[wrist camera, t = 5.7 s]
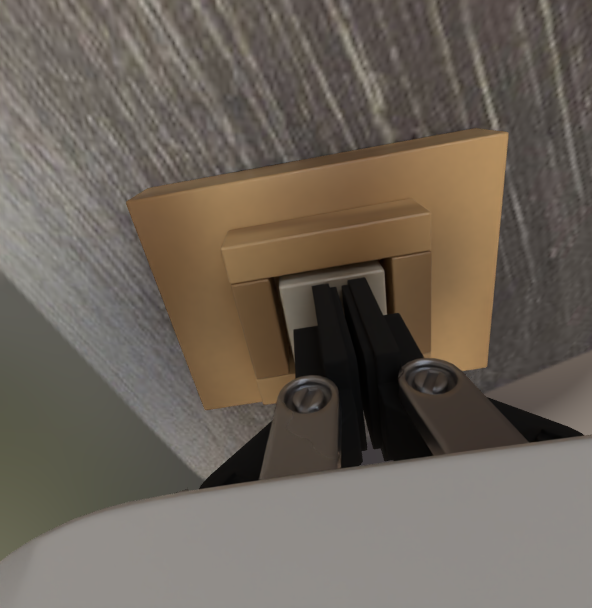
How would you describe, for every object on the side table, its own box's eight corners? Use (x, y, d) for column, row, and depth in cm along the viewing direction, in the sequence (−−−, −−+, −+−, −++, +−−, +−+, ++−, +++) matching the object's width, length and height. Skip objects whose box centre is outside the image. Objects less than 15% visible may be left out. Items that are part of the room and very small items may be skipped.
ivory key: (294, 342, 14) (296, 371, 13) (278, 265, 13) (278, 287, 11) (378, 328, 14) (389, 356, 13) (372, 249, 13) (385, 269, 11)
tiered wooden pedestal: (212, 378, 18) (195, 445, 14) (146, 187, 14) (99, 216, 10) (464, 338, 17) (511, 398, 14) (476, 127, 13) (548, 135, 10)
